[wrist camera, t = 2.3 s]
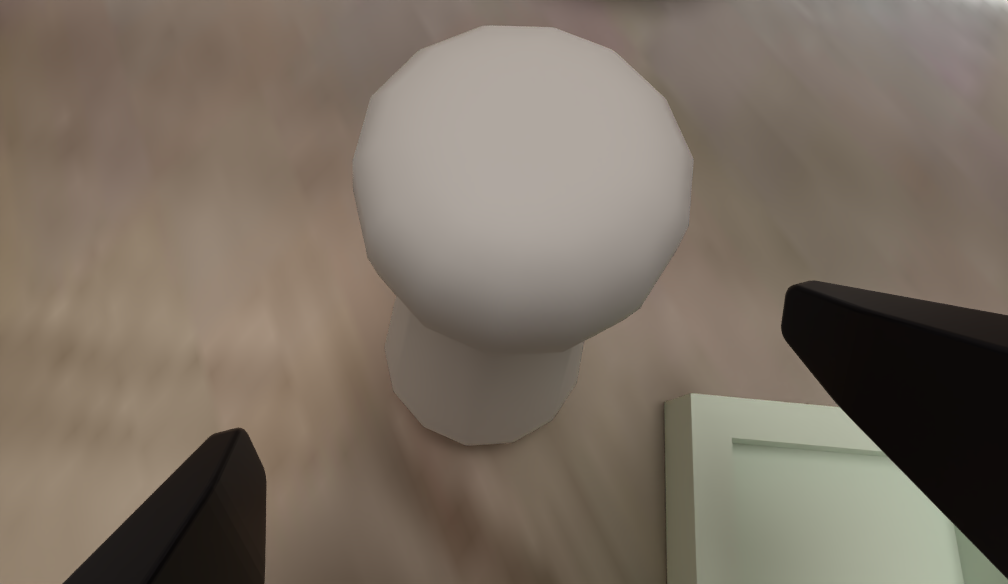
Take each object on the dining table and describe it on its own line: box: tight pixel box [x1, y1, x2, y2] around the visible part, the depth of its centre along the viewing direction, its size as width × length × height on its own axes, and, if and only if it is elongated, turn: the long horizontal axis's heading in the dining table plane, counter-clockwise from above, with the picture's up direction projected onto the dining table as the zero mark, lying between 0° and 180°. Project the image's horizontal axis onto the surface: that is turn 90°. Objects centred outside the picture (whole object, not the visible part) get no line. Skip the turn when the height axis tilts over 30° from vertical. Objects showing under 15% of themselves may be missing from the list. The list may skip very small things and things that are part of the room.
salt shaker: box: [353, 26, 694, 446], centre depth 12 cm, size 6×6×13 cm
